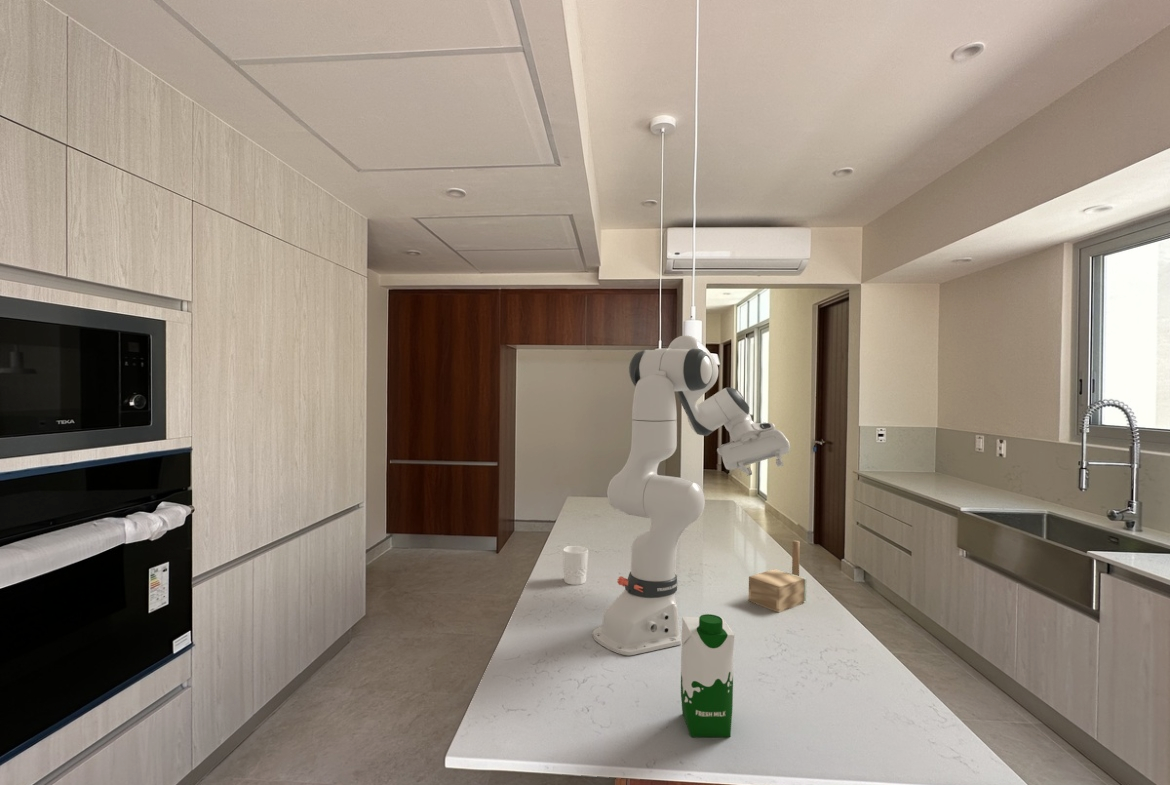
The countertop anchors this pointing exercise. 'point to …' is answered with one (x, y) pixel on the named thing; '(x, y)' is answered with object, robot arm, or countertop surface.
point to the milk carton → (707, 675)
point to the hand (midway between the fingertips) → (765, 469)
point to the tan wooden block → (776, 590)
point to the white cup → (575, 564)
